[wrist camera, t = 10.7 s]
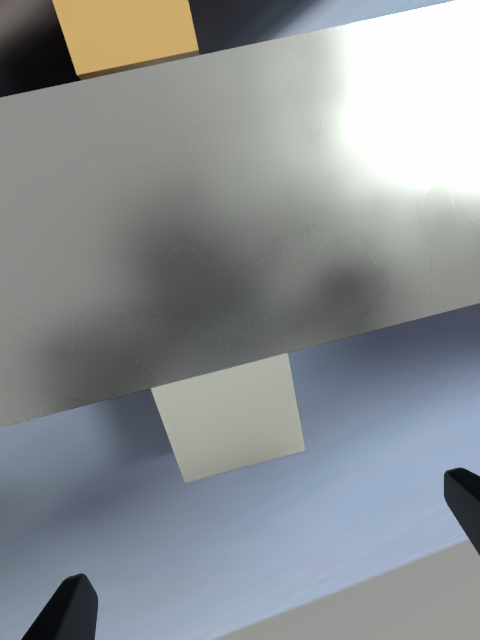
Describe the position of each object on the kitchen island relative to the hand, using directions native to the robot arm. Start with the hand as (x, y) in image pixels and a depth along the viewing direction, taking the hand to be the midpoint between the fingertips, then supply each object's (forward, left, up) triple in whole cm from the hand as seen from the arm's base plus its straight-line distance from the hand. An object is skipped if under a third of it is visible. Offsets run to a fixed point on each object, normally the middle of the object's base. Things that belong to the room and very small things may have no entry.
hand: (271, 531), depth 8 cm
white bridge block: (0, -7, -7) cm, 10 cm away
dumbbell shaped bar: (0, -6, -7) cm, 9 cm away
